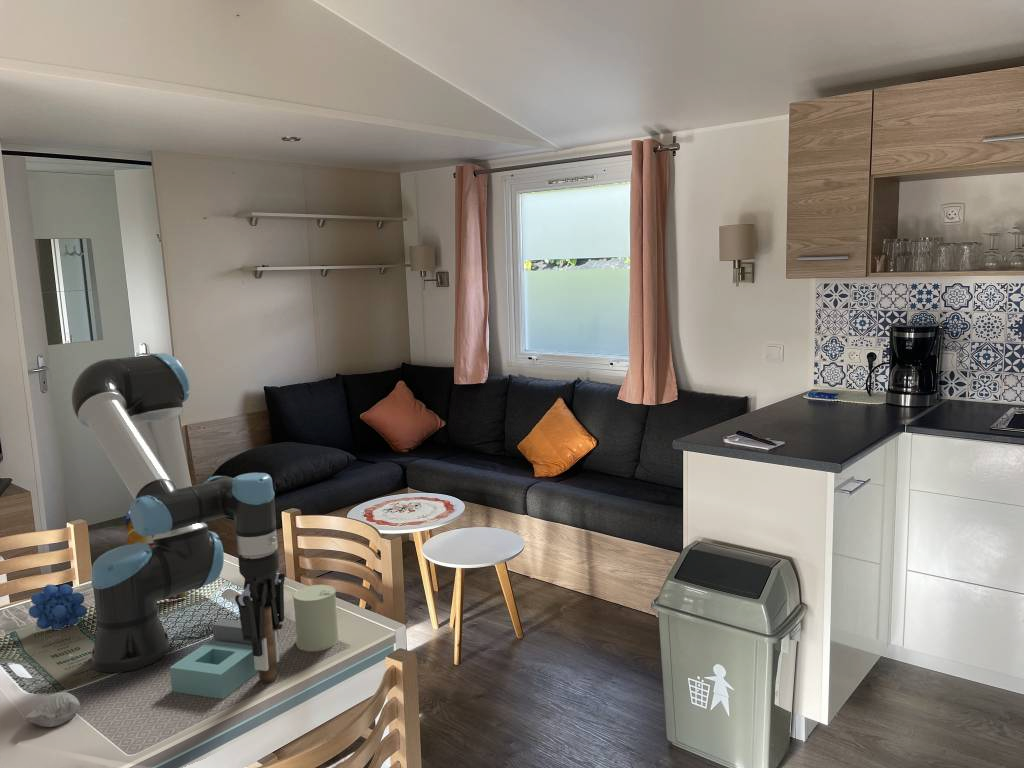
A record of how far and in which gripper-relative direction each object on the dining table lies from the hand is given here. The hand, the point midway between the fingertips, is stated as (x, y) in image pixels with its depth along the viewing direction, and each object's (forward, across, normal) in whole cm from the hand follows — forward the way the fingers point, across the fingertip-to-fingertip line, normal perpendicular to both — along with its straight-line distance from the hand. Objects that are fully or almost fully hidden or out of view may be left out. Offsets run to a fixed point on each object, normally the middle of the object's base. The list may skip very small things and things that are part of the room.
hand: (267, 664), depth 156 cm
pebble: (+3, -22, +30) cm, 38 cm away
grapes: (+3, +7, +61) cm, 61 cm away
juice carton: (+3, +27, +50) cm, 57 cm away
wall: (+3, +6, +10) cm, 12 cm away
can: (+3, +17, -1) cm, 17 cm away
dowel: (+3, 0, 0) cm, 3 cm away
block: (+3, -3, +10) cm, 11 cm away
